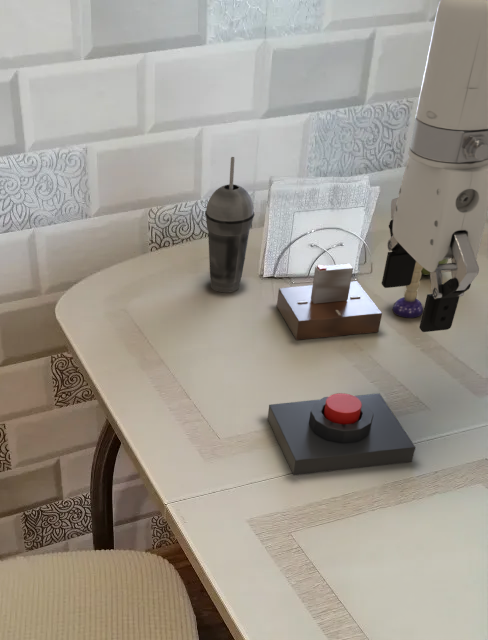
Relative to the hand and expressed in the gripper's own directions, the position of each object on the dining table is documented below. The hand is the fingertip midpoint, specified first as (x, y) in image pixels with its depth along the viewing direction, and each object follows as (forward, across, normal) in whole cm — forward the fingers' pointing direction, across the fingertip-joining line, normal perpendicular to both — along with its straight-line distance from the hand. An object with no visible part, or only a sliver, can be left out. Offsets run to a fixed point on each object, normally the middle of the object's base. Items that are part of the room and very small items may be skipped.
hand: (414, 306), depth 85 cm
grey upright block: (+14, +27, -2) cm, 31 cm away
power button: (+13, -1, +6) cm, 14 cm away
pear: (+17, +38, -22) cm, 47 cm away
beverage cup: (+17, +40, +10) cm, 45 cm away
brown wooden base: (+17, +27, -2) cm, 32 cm away
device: (+17, -1, +6) cm, 18 cm away
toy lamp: (+17, +27, -14) cm, 35 cm away
